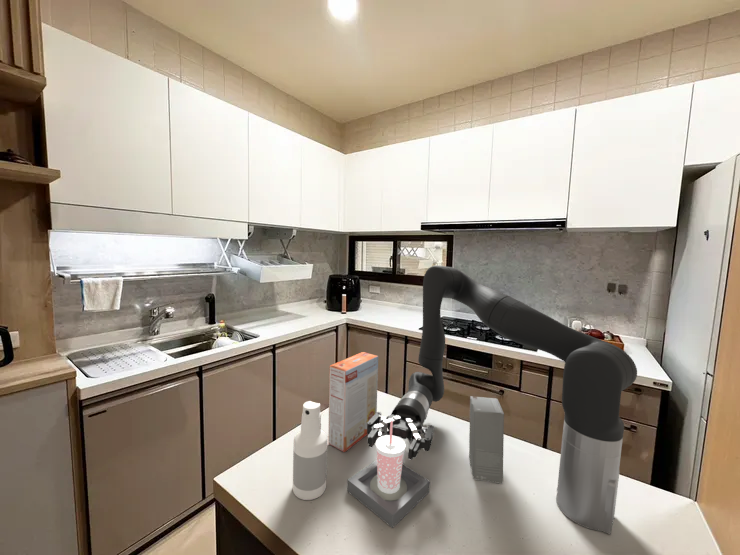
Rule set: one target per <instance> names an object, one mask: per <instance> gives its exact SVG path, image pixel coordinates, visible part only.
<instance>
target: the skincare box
mask: <svg viewBox="0 0 740 555" xmlns="http://www.w3.org/2000/svg"><path fill="white" fill-rule="evenodd" d="M504 429H505V413H504V411H503V408H502V406H501V404H500V402H499V399H498V397H497V398H495V397H483V396H474V395H473V396H472V395H470V396H469V439H468V440H469V441H468V442H469V444H468V445H469V446H468V448H469V449H468V450H469V451H468V460H469V465H470V469H471V474H472V479H474V480H478V481H485V482H490V483H496V484H503V483H504V443H505V442H504V441H505V440H504V434H505V430H504Z"/></svg>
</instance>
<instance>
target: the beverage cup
mask: <svg viewBox="0 0 740 555" xmlns="http://www.w3.org/2000/svg"><path fill="white" fill-rule="evenodd" d="M392 428H393V420H391V421H390V435H385V436H381V437H379V438H378V439H377V441H376V443H375V450H376V460H377V477H378V488H379V489H380V490H381V491H382V492H384V493H388V494H392V493H395V492H397V491H398V490H399V488H400V480H401V471H402V464H404V463H403V461H404V453H405V451H406V446H407V445H406V442H405V440H403V438H400V437H397V436H393V435H392Z"/></svg>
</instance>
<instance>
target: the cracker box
mask: <svg viewBox="0 0 740 555" xmlns="http://www.w3.org/2000/svg"><path fill="white" fill-rule="evenodd" d="M328 369H329V374H328V376H329V377H328V380H329V381H328V383H329V385H328V386H329V387H328V434H327V436H328V440H327V445H329V446H332V447H334V448H336V449H338V450H339V451H341V452H343V453H346V452H347V451H348V450H349V449H351V448H352V447H353V446H355V445H357V443H358V442H360V441H362V439H364V438H365V437H366V436H368V434H367V422H368V421H369V420H370V419H371V418H372V417H373V416H374V415H375V414H376V413H377V412H378V411H377V410H378V409H377V408H378V385H379V384H378V383H379V382H378V378H379V355H376V354H372V353H369V352H365V351H362V352H359V353H357V354H354V355H351V356H349V357H347V358H345V359H342V360H340V361H338V362H335V363H333V364H330V365H329V368H328Z"/></svg>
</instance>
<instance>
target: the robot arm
mask: <svg viewBox="0 0 740 555" xmlns="http://www.w3.org/2000/svg"><path fill="white" fill-rule="evenodd" d="M443 299H451V300H454V301H457V302H459V303H461V304H463V305H465V306H467V307H469V309H471V310H472V311H473V312H474V313H475V315H476V316H477V317H478V319H479V320H480V321H481V323H482V324H484V325H485V326H486V327H488V328H489V329H491V330H492V331H494V333H495V332H496V333H497V334H499V335H501V336H502V337H504V338H505V339H507V340H509V341H512V342H515V343H517V344H520V345H523V346H526V347H530V348H532V349H536V350H538V351H542V352H545V353H547V354H549V355H552V356H554V357H556V358H557V359H559V360H561V361H563V362H564V366H563V367H564V368H563V375H562V376H563V377H562V388H561V392H562V393H561V405H562V409H563V411H564V418H563V429H562V438H561V446H560V448H561V449H560V459H559V467H558V477H557V488H556V498H555V499H556V504H557V507H558V508H559V510H560V511H561V512H562V513H563V514H564V515H565V516H566V517H568V519H569V520H571V521H573V522H574V523H576V524H578V525H580V526H581V527H584V528H587V529H589V530H594V531H598V532H604V533H605V534H608V535H611V534H612V530H613V523H614V520H615V519H614V518H615V513H616V506H617V498H618V497H617V496H618V488H619V480H620V464H621V455H622V448H623V447H622V446H623V439H624V431H625V424H624V421H623V419H622V418H621V417H620V408H621V398H622V391H624V390H626V389H627V388H629V387H630V386H632V385H633V384H634V382H635V381H636V380H637V377H638V368H637V366H636V363H635V362H634V359H632V357H631V356H630V355H629V354H628V353H627V352H626V351H624V350H623V349H622V348H620V347H618V346H617V345H615V344H612V343H609V342H607V341H605V340H602V339H601V338H600V339H599V338H597V337H594V336H591V335H589V334H587V333H584V332H582V331H579V330H576V329H574V328H572V327H570V326H567V325H566V324H564V323H561V322H559V321H558V320H556V319H554V318H553V317H550V316H549V315H546V314H545V313H543V312H541V311H539V310H537V309H535V308H533V307H531V306H530V305H528V304H526V303H524V302H522V301H520V300H519V299H517V298H514V297H512V296H510V295H508V294H505V293H503V292H501V291H499V290H496V289H494V288H493V287H492V288H491V287H488V286H486V285H483V284H481V283H480V282H478V281H477V280H475V279H473V277H471V276H469V275H468V274H466V273H464V272H463V271H461V270H459V269H458V268H456V267H453V266H444V265H438V264H437V265H435V264H434V265H432V266H430V267H428V269H427V270H426V271H425V272H424V276H423V282H422V333H421V340H420V345H419V346H420V347H419V353H418V360H417V361H418V363H419V364H418V365H420V366H422V367H423V368H425V369H427V370H428V371H430V373H431V374H429V373H425V372H422V371H415V372H413V373H411V375H410V377H409V379H408V387H407V388H408V390H407V391H406V393H405V394H404V395H403V396H402V397H401V399H400V400H399V402H398V403H397V404H396V405H395V407H394V408H393V410H392V412H391V413H390V415H388V416H384V415H382V412H381V411H377V413H376V414H375V415H374V416H373V417H372V418H371V419H370V420H369V421H368V422H367V445H368V448H373V447H374V445H376V441H377V439H378V438H380V437H381V436H385V435H390V421H391V420H393V428H392V435H393V436H397V437H399V438H401V439H402V440H403V439H404V440H406V439H407V440H408V442H409V444H410V446H409V448H408V453H407V454H408V455H407V456H408V457H407V459H409V460H413V458H414V459H415V458H417V456H418V454H419V452H420V450H421V449H423V450H424V451H425V452H429V451H430V449H431V446H432V444H433V443H432V442H433V439H434V429H435V428H434V425H432V424H429V425H428V426H427V427H425V426H423V425H424V423H425V421H426V420H427V418H428V415H429V410H430V409H431V407H432V406H431V405H432V404H433V402H435V403H436V402H440V400H441V399H442V398H443V397H444V394H445V382H444V375H443V361H444V355H445V348H446V335H445V331H444V326H443V323H442V317H441V316H442V315H441V307H442V303H443ZM379 430H380V431H379ZM421 434H423V436H424V438H422V437H421Z"/></svg>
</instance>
